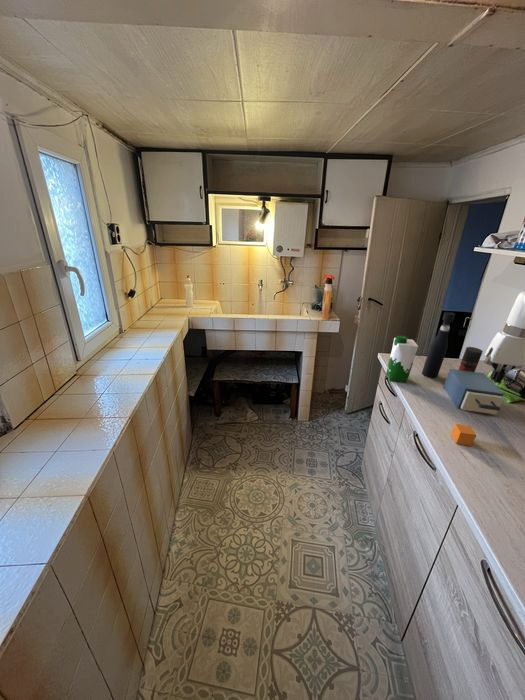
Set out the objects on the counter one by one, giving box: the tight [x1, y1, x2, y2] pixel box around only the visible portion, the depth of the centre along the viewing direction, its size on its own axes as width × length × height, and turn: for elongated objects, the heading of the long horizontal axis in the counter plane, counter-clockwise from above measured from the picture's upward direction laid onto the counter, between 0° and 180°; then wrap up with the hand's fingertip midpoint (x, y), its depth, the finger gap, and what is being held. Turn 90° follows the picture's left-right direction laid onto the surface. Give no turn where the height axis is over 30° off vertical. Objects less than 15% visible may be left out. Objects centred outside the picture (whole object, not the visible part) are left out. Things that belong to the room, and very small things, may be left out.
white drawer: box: [460, 390, 505, 416], centre depth 107 cm, size 19×11×7 cm, turn 167°
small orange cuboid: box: [450, 423, 478, 447], centre depth 90 cm, size 4×4×4 cm
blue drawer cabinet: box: [443, 368, 505, 410], centre depth 111 cm, size 16×13×9 cm
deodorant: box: [457, 346, 484, 372], centre depth 125 cm, size 6×6×15 cm
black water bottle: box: [421, 311, 456, 379], centre depth 124 cm, size 6×6×30 cm
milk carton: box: [385, 334, 420, 384], centre depth 122 cm, size 9×9×20 cm
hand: (495, 380), depth 97 cm, fingers closed
